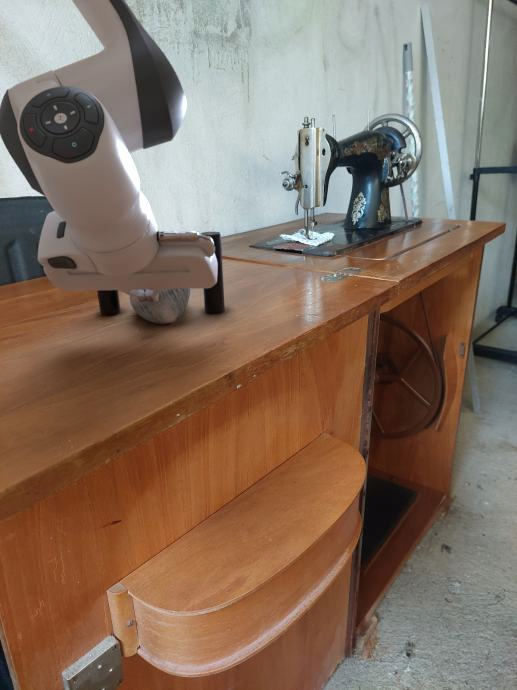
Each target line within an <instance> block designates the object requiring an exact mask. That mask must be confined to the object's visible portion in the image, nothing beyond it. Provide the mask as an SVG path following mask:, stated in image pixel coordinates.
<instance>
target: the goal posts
mask: <svg viewBox="0 0 517 690" xmlns="http://www.w3.org/2000/svg"><path fill="white" fill-rule="evenodd" d="M199 233H200V234H202V235H206V236H210V237H211V238H212V240H213V242H214V246H215V252H214V253H215V256H216V259H217V263H218V274H217V283H216V284H215V285H214V286H213V287H211V288H202V289H203V302H204V303H203V304H204V313H205V314H208V315H220V314H224V313H225V311H226V310H225V309H226V307H225V306H226V305H225V287H224V285H225V284H224V267H223V249H222V248H223V247H222V233H221V231H203V232H199ZM96 292H97V300H98V307H99V312H100V313H99V314H100V316H103V317H111V316H117V315H119V314H121V313H122V311H121V304H120V303H121V302H120V295H119V290H96Z"/></svg>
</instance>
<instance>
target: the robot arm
mask: <svg viewBox="0 0 517 690" xmlns="http://www.w3.org/2000/svg"><path fill="white" fill-rule="evenodd" d="M71 1H72V3H73V5H74V6H75V7H76V8H77V10H78V11H79V13H80V14H81V16H82V17H83V19H84V20H85V21H86V23H87V25H88V26H89V27H90V29H91V30H92V32H93V33H94V34H95V35H96V36H95V37H96V38H97V39H98V41H99V42H100V43H101V45H102V47H103V49H102V50H101V51H99V52H97V53H95V54H92V55H91V56H90V55H89V56H88V57H85V58H82V59H80V60H77V61H74V62H72V63H69V64H67V65H64V66H62V67H58V68H56V69H54V70H52V69H51V70H49V71H46V72H43V73H41V74H39V75H36V76H33V77H31V78H28V79H25V80H23V81H21V82H18V83H17V84H15V85H13V86H11V87H10V88H7V89H6V91H5V92H4V94H3V97H2V99H1V103H0V138H1V140H2V143H3V144H4V146H5V148H6V150H7V152H8V154H9V155H10V157H11V159H12V160H13V162H14V164H15V165H16V166H17V168H18V169H19V171H20V172H21V174H22V175H23V177H24V179H25V180H26V181H27V183H28V185H29V186H30V188H31V189H32V190H34V191H35V192H37V193H38V194H40V195H42V196H44V197H45V198H46V199H47V202H48V203H49V205H50V206H51V208H52V209H53V211H50V212H49V213H48V214H46V217H45V220H44V222H43V226H42V229H41V232H40V236H39V241H38V248H37V261H38V263H39V264H40V265H41V266H43V268H42V269H43V272H44V274H45V276H46V277H47V279H48V280H49V281H50V283H51V284H52V285H53V286H54V287H55V288H56V289H58V290H62V291H64V292H87V291H90V292H91V291H93V292H94V291H97V290H118V291H121V292H122V293H123V294H126V295H128V296H129V297H130V296H133V297H134V299H135V301H136V302H146V301H147V302H156V301H158V298H159V291H160V289H190V290H191V289H193V290H195V289H203V288H211V287H213V286H214V285H215V284H216V283H217V274H218V263H217V259H216V256H215V253H214V252H215V246H214V242H213V240H212V238H211V237H210V236H206V235H202V234H200V233H201V232H199V231H196V230H186V231H173V230H170V231H169V230H168V231H167V230H166V231H159V228H158V225H157V222H156V219H155V216H154V213H153V211H152V209H151V206H150V202H149V201H148V198H147V197H146V195H145V194H144V193H143V192H142V190H141V179H140V176H139V172H138V169H137V167H136V164H135V162H134V159H133V158H132V155H131V154H133V153H135V152H137V151H140V150H142V149H143V150H147V149H149V148H153V147H155V146H159V145H162V144H165V143H168V142H169V143H170V142H172V141H173V140H174V138H175V136H176V135H177V133H178V132H179V130H180V128H181V126H182V123H183V121H184V118H185V116H186V112H187V108H188V101H187V98H186V93H185V90H184V87H183V84H182V81H181V79H180V76H179V75H178V72H177V70H176V69H175V67H174V66H173V64H172V62H171V61H170V59H168V57H167V56H166V55H165V53H164V52H163V50H162V49H161V47H160V46H159V45H158V43H157V42H156V41H155V40H154V39H153V38H152V36H151V35H150V34H149V32H148V31H147V30H146V29H145V28H144V26H143V25H142V24H141V22H140V21H139V19H138V18H137V17H136V15H135V14H134V12H133V11H132V10H131V7H130V6H129V5H128V3H127V2H126V0H71Z"/></svg>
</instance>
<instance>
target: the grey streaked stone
mask: <svg viewBox="0 0 517 690" xmlns="http://www.w3.org/2000/svg"><path fill="white" fill-rule="evenodd" d="M190 295H191V289H160V291H159V298H158V301H156V302H147V301H146V302H136V301H135V299H134V297H133V296H130V295H129V302H130V305H131V307H132V309H133V310H134V312H135V313H136V314H138V315H139V316H140V317H141V318H142V319H144V320H146V321H147V322H151V323H154V324H157V325H169V324H172V323H174V322H176V321H177V320H179V319H180V318H181V316H182V315H183V314H184V312H185V310H186V308H187V307H188V303H189V300H190Z"/></svg>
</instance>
